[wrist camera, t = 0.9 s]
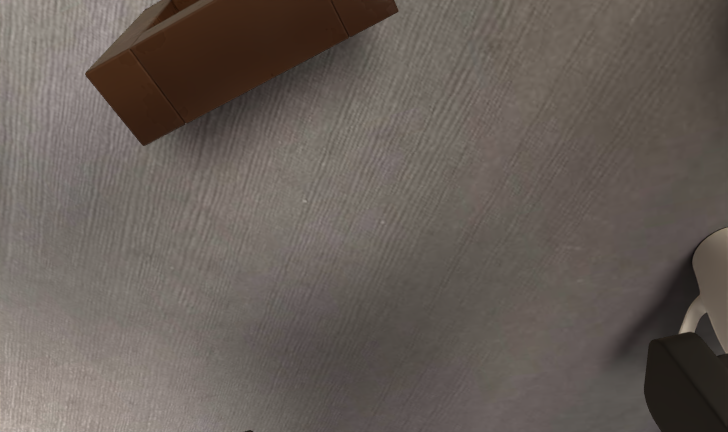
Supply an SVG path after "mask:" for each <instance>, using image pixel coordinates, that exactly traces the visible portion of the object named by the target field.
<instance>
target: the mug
mask: <svg viewBox="0 0 728 432" xmlns="http://www.w3.org/2000/svg"><path fill="white" fill-rule="evenodd" d="M692 265H693V269H694V272H695V275H696V278H697V282H698V285H699V289H700V295H699V296H698V297H697V298H696V299H695V300H694V301H693V302H692V303H691V305H690V306H689V308H688V310H687V313H686V315H685V317H684V320H683V323H682V325H681V328H680V331H679V333H678V334H681V333H686V332H695V330H696V327H697V324H698V322H699V320H700V318H701V317H702V315H703V314H705V313H708V316H709V318H710V321H711V324H712V326H713V329H714V331H715V333H716V336H717V338H718V340H719V342H720V344H721V346H722V348H723V349H724V351H725V353H726V354H728V227H727V228H724V229H721V230H719V231H717V232H715V233H713V234H711V235H710V236H709V237H707V238H706V239H705V240H704V241H703V242H702V243H701V244H700V245H699V246H698V248H697V249H696V251H695V253H694V256H693V260H692Z"/></svg>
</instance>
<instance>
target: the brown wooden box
mask: <svg viewBox="0 0 728 432" xmlns="http://www.w3.org/2000/svg"><path fill="white" fill-rule="evenodd" d="M397 12H398V8H397V6H396V4H395V1H394V0H161V1H159V2H157V3H156V4H154V5H152V6H150V7H149V8H147V9H145V10H144V12H143V13H142V14H141V15H140V16H139V17H138V18H137V19H136V20H135V21H134V22H133V23H132V24H131V25H130V26H129V27H128V28H127V29H126V31H125V32H124V33H123V34H122V35H121V36H120V37H119V38H118V39H117V40H116V41H115V42H114V43H113V44H112V45H111V46H110V47H109V48H108V50H107V51H106V52H105V53H104V54H103V55H102V56H101V57H100V58H99V59H98V60H97V61H96V62H95V63H94V64H93V65H92V66H91V67H90V69H89V70H88V71H87V72H86V73H85V75H86V77H87V78H88V79H89V80H90V81H91V83H92V84H93V85H94V86H95V88H96V89H97V90H98V91H99V92H100V94H101V95H102V96H103V97H104V99H105V100H106V101H107V102H108V104H109V105H110V106H111V107H112V108H113V110H114V111H115V112H116V113H117V115H118V116H119V117H120V118H121V120H122V121H123V122H124V123H125V124H126V126H127V127H128V128H129V129H130V131H131V132H132V133H133V134H134V136H135V137H136V138H137V139H138V140H139V142H140V143H141V144H142V145H143V146H145V145H147V144H149V143H151V142H153V141H155V140H157V139H159V138H160V137H162V136H164V135H166V134H168V133H170V132H172V131H174V130H176V129H177V128H179V127H181V126H183V125H185V123H189V122H191V121H193V120H195V119H197V118H199V117H200V116H202V115H204V114H206V113H208V112H210V111H212V110H214V109H216V108H217V107H219V106H221V105H223V104H225V103H227V102H229V101H231V100H233V99H234V98H236V97H238V96H240V95H242V94H244V93H246V92H248V91H250V90H251V89H253V88H255V87H257V86H259V85H261V84H263V83H265V82H267V81H268V80H270V79H272V78H274V77H276V76H278V75H280V74H282V73H283V72H285V71H287V70H289V69H291V68H293V67H295V66H297V65H299V64H300V63H302V62H304V61H306V60H308V59H310V58H312V57H314V56H316V55H317V54H319V53H321V52H323V51H325V50H327V49H329V48H331V47H333V46H334V45H336V44H338V43H340V42H342V41H344V40H346V39H348V38H349V37H352V36H354V35H356V34H357V33H359V32H361V31H363V30H365V29H367V28H369V27H371V26H373V25H374V24H376V23H378V22H380V21H382V20H384V19H386V18H388V17H390V16H391V15H393V14H395V13H397Z"/></svg>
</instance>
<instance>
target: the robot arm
mask: <svg viewBox="0 0 728 432" xmlns="http://www.w3.org/2000/svg"><path fill="white" fill-rule="evenodd" d="M644 394H645V399H646V403H647V406H648V409H649V411H650V413H651V415H652V417H653V419H654V421H655V422H656V424H657V425H658V427H659V429H660V430H661V432H728V354H723V355H719V356H716V355H715V354H714V352H713V351H712V350H711V349H710V348H709V347H708V345H707V344H706V343H705V342H704V341H703V340H702V338H701V337H700V336H698V335H697V334H696V333H694V332H686V333H681V334H677V335H672V336H668V337H664V338H659V339H655V340H652V341H651V342H650V344H649V349H648V358H647V366H646V375H645V383H644ZM245 432H253V431H251V430H249V431H245Z"/></svg>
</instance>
